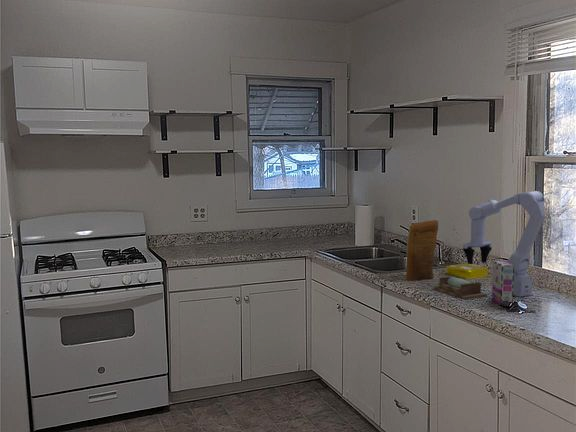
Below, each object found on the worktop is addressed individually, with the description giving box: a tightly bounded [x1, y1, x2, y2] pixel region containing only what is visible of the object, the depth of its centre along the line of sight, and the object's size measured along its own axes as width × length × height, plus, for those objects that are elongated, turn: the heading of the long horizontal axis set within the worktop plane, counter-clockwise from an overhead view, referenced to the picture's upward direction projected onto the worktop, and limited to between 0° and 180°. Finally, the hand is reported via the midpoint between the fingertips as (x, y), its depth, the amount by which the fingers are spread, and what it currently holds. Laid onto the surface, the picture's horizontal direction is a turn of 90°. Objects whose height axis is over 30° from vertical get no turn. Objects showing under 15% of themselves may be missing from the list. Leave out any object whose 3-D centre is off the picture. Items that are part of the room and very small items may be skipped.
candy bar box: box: [491, 260, 514, 306], centre depth 228 cm, size 11×5×16 cm, turn 178°
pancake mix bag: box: [405, 219, 439, 282], centre depth 272 cm, size 7×19×28 cm, turn 115°
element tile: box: [446, 262, 489, 280], centre depth 282 cm, size 15×15×5 cm
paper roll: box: [447, 276, 472, 289], centre depth 246 cm, size 10×5×5 cm, turn 23°
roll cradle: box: [433, 275, 488, 300], centre depth 246 cm, size 20×12×6 cm, turn 22°
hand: (476, 263), depth 258 cm, fingers open, 7 cm apart
